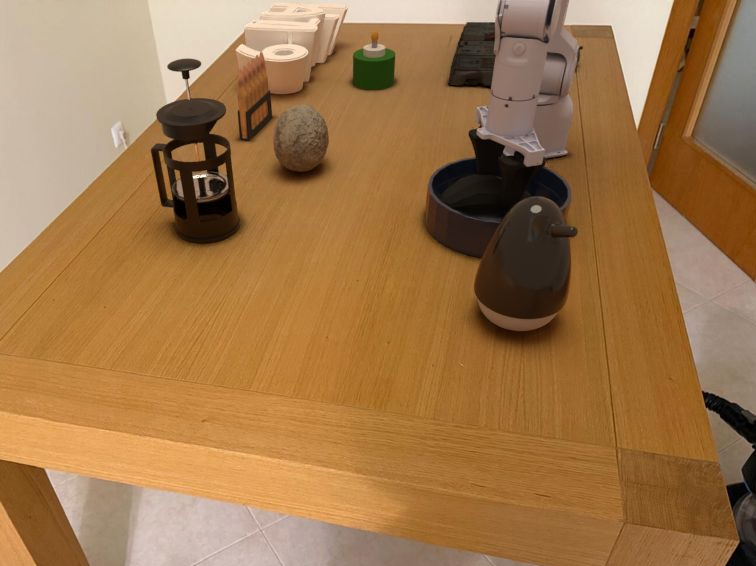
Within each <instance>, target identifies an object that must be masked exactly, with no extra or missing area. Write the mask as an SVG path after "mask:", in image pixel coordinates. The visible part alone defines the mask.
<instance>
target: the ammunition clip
mask: <svg viewBox="0 0 756 566" xmlns="http://www.w3.org/2000/svg"><path fill="white" fill-rule="evenodd" d="M237 101H238V102H237V104H238V110H237V121H238V132H239V140H242V141H251V140H252V139H253V138H254V137H255V136H256V135H257V134H258V133H259V132H260V131H261V130H262V129H263V128H264V127H265V126H266V125H267V124H268V123H269V122H270V120H272V119H273V108H272V98H271V93H270V90H268V77H267V73H266V66H265V59H264V55H263V53H262V52H260V55H259V57H258V55H256V58H255V60H254V59H253V58H252V61H251V64H250V62H248V63H247V68H246V66H245V65H244V66H243V70H241V69H240V68H239V69H238V73H237Z"/></svg>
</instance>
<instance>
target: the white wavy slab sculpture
mask: <svg viewBox="0 0 756 566" xmlns="http://www.w3.org/2000/svg"><path fill="white" fill-rule="evenodd" d="M269 7H270V11H266V10H264V11H262V12H261V13H260V14H259V20H257V21H256V22H249V23H247V24H245V26H243V33H244V40H245V44H244V43H241V44H240V45H238V47H236V49H235V54H236V60H237V64H238V67H239V69H241V70H243V66H244V65H245V66H246V68H247V63H248V62H250V64H251V61H252V58H253V59H254V60H255V58H256V55H258V57H259V55H260V52H262V53H263V55H264V59H265V66H266V73H267V77H268V90H270V94H273V95H291V94H295V93H298V92H300V91H301V90H303V86H304V83H308V82H309V81H310V78H311V71H312V67H315V66H316V64H323V63H325V62H326V61H327V58H328V56H331V55H333V53H334V49H335V47H336V44H337V41H338V38H339V35H340V32H341V29H342V27H343V24H344V21H345V18H346V15H347V12H348V9H349V6H348V5H347V4H340V3H339V4H338V3H308V4H302V3H295V2H274V3H272V4H271V5H270V6H269Z"/></svg>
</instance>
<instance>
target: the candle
mask: <svg viewBox="0 0 756 566" xmlns="http://www.w3.org/2000/svg"><path fill="white" fill-rule="evenodd" d="M370 39H371V43H369V44H365V45H364V46H363V48H360V49H357V50H354V52H353V55H352V85H353V86H354V87H355V88H358V89H360V90H365V91H366V90H367V91H379V90H386V89H388V88H390V87H393V85H394V84H395V70H396V69H395V68H396V52H395V51H394V50H393V49H390V48H387V47H386V45H384V44H381V43H378V40H379V32H378V30H376V29H373V30H372V32H371V34H370Z"/></svg>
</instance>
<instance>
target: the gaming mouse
mask: <svg viewBox="0 0 756 566" xmlns="http://www.w3.org/2000/svg"><path fill="white" fill-rule="evenodd" d="M501 194H502V178H501V177H498V176H494V175H472V176H468V177H465V178H461V179H460V180H458V181H457V182H456V183H455V184H453V185H452V186H451V187H449V188H448V189H447V190H446V191H445V192H444V193H442V199H443V203H445V204H446V205H448V206H449V207H451V208H453V209H454V210H456V211H460V212H465V213H469V214H482V213H507V212H508V211H509V210H510V209H511V208H512V207H513V206H512V207H506V208H504V207H503V206H502V202H501ZM527 197H531V194H530V193H528V192H527V191H526V190H525V192H524V194H523V196H522V198H521V200H522V199H524V198H527Z"/></svg>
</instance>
